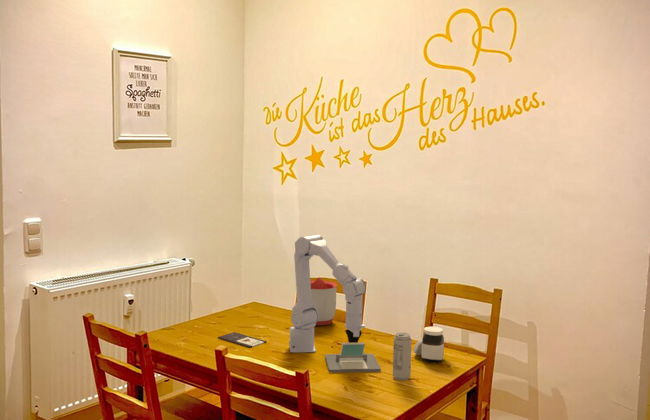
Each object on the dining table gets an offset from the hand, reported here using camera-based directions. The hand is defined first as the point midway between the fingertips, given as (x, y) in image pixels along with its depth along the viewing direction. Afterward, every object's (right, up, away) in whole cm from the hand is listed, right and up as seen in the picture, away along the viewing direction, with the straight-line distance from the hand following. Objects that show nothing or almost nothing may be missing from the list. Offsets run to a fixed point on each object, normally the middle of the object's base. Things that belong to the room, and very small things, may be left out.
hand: (352, 350), depth 235 cm
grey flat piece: (0, -5, 0) cm, 5 cm away
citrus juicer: (-14, +1, +52) cm, 54 cm away
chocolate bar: (-43, -2, +25) cm, 50 cm away
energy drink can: (+16, -7, -12) cm, 21 cm away
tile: (0, +1, -1) cm, 1 cm away
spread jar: (+28, -5, +8) cm, 30 cm away
